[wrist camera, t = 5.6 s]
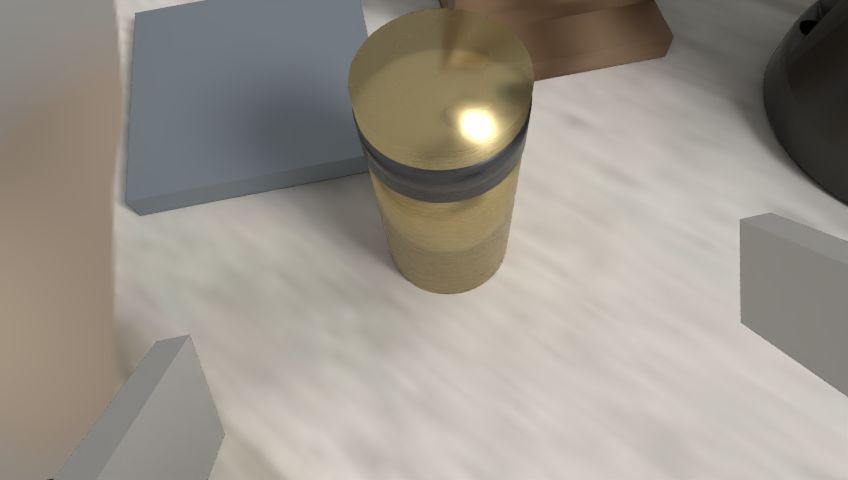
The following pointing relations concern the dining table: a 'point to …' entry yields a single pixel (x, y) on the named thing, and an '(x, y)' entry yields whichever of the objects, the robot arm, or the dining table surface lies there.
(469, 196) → the cylinder
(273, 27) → the slate pad
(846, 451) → the dining table surface
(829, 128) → the robot arm
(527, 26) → the panel
